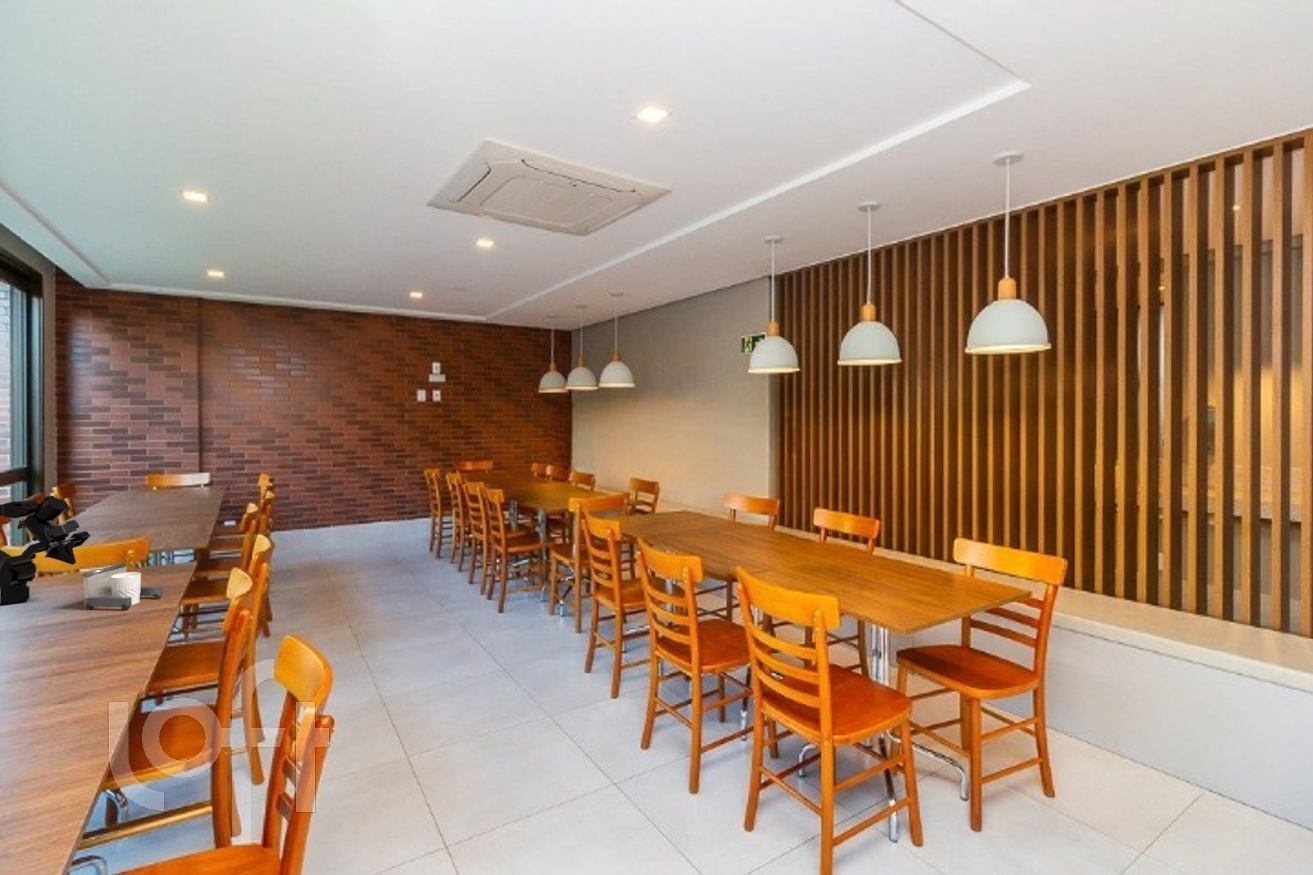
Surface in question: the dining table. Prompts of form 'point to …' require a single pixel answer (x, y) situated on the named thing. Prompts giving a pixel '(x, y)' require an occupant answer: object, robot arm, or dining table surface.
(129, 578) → the white cup
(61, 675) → the dining table surface
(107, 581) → the silver boxy shape
